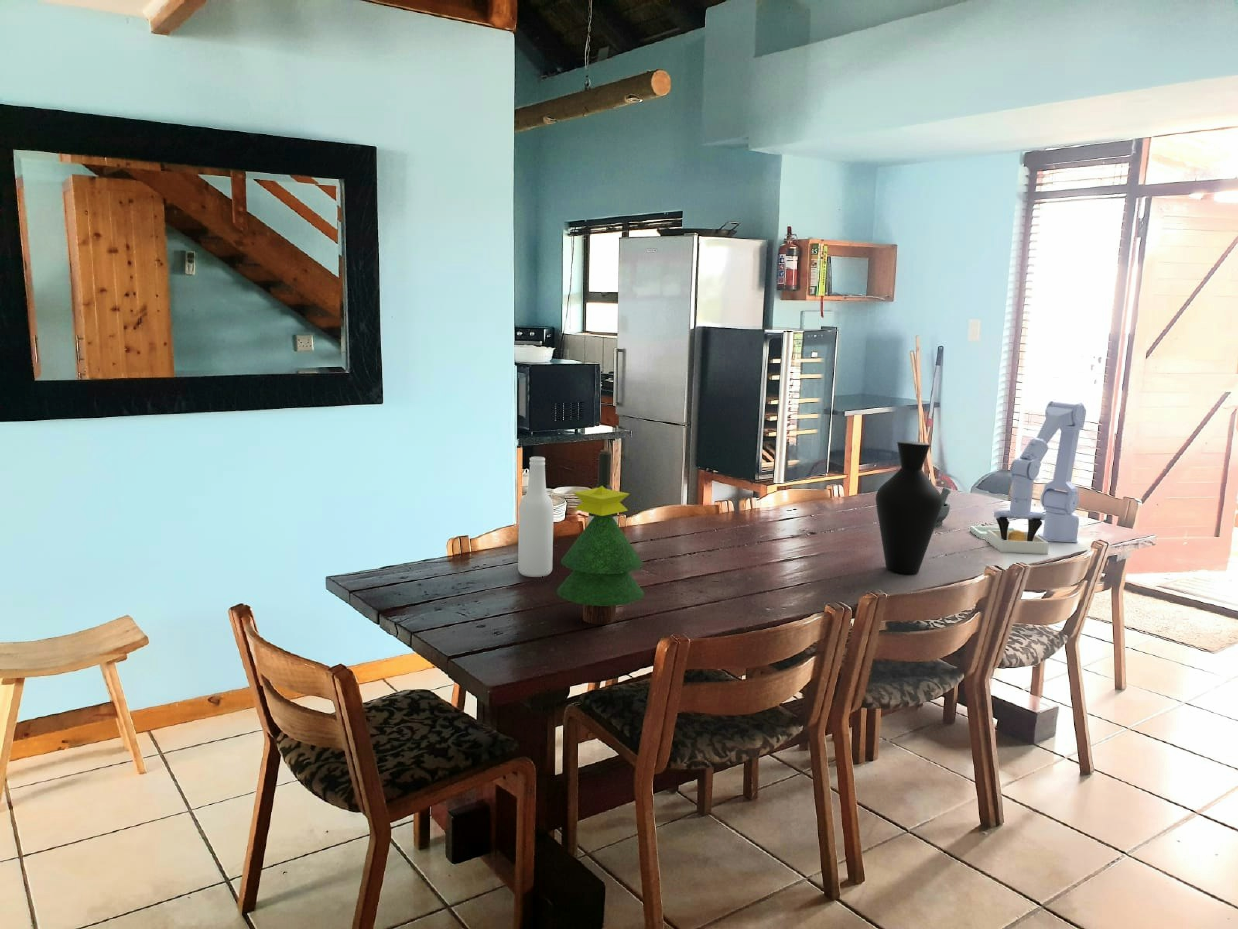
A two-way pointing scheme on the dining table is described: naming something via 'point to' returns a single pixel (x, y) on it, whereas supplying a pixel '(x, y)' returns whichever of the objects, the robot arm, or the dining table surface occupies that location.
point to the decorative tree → (601, 560)
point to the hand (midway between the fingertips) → (1016, 542)
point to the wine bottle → (604, 477)
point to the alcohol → (536, 524)
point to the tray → (984, 530)
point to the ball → (1017, 536)
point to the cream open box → (1017, 543)
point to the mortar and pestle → (943, 507)
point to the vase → (907, 511)
